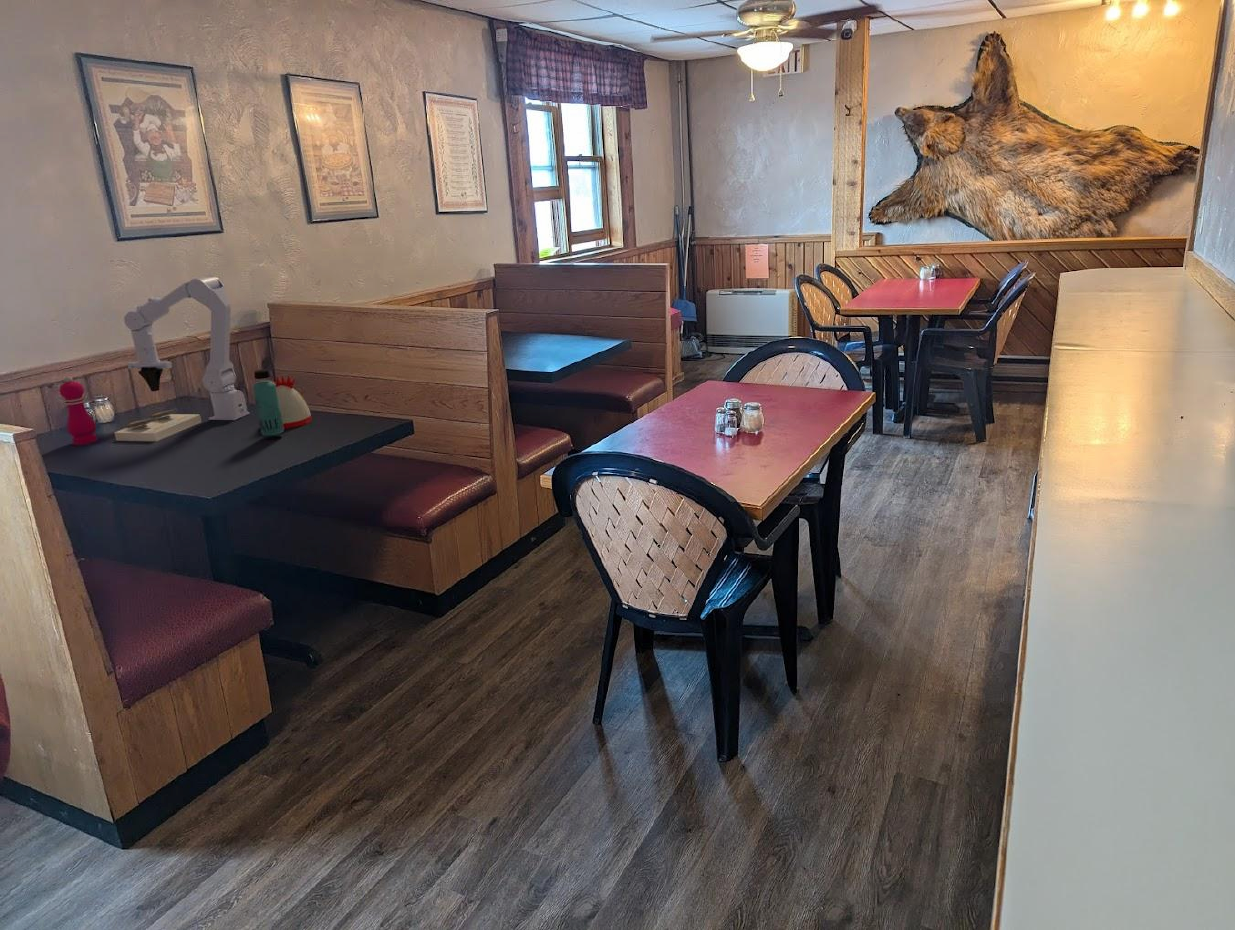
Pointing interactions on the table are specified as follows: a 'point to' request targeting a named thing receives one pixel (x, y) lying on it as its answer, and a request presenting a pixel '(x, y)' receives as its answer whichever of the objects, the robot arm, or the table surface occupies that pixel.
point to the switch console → (158, 428)
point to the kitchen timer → (291, 404)
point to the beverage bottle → (267, 404)
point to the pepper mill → (78, 413)
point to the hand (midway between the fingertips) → (155, 390)
